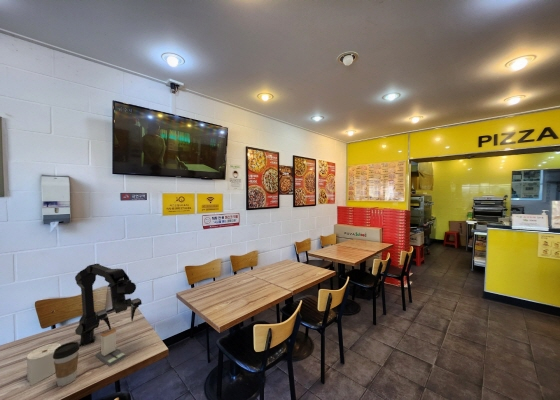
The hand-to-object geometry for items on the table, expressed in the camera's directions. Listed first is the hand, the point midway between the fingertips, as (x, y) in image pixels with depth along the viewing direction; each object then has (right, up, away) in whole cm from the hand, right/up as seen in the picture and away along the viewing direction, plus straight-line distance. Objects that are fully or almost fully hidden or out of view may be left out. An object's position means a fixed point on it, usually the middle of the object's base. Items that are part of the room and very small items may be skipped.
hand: (121, 325), depth 112 cm
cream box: (-5, -13, -2) cm, 14 cm away
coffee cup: (-12, -15, -17) cm, 25 cm away
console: (-4, -15, -3) cm, 15 cm away
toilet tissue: (-26, -15, -12) cm, 33 cm away
